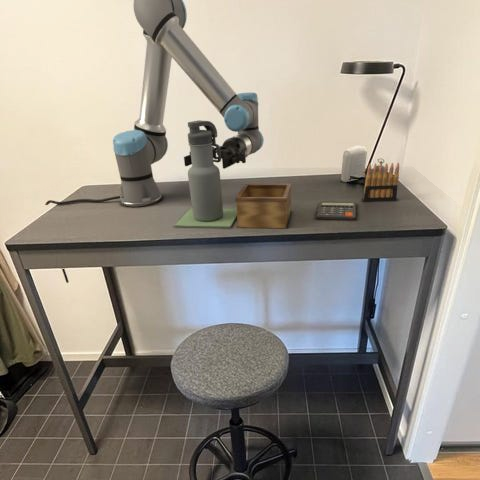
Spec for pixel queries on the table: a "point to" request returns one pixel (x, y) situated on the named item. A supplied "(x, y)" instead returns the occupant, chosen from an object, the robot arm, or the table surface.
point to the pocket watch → (378, 169)
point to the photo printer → (353, 162)
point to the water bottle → (204, 172)
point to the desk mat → (222, 222)
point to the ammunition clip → (381, 184)
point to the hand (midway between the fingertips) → (203, 162)
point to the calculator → (336, 210)
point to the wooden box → (264, 205)
